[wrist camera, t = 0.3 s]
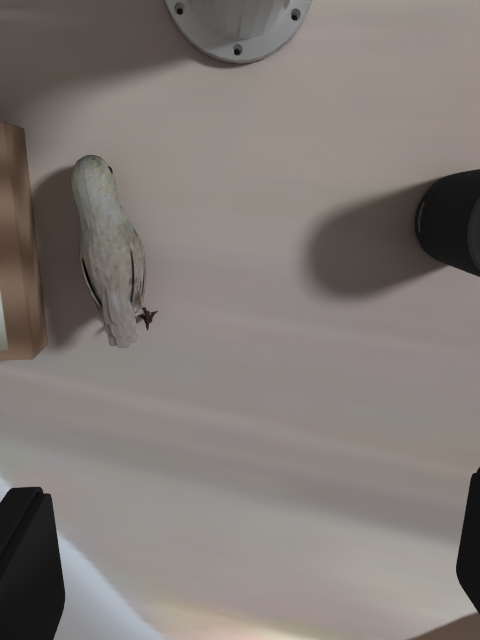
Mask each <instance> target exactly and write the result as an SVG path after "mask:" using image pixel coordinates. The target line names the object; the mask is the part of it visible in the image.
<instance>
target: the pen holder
mask: <svg viewBox="0 0 480 640" xmlns="http://www.w3.org/2000/svg"><path fill="white" fill-rule="evenodd" d="M415 230H416V235H417V238H418V241H419V243H420V245H421V247H422V248H423V249H424V251H425V252H426V253H427V254H429V255H430V256H431V257H433V258H434V259H437V260H439V261H441V262H443V263H446V264H448V265H450V266H453V267H455V268H458V269H461V270H463V271H466V272H468V273H471V274H473V275H476V276H479V277H480V169H478V170H472V171H466V172H460V173H456V174H452V175H449V176H447V177H445V178H443V179H441V180H439V181H438V182H437V183H435V184H434V185H433V186H432V187H431V188H430V189H429V190H428V191H427V192H426V194H425V195H424V197H423V198H422V200H421V202H420V204H419V207H418V209H417V213H416V219H415Z"/></svg>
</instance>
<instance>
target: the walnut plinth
mask: <svg viewBox="0 0 480 640" xmlns="http://www.w3.org/2000/svg"><path fill="white" fill-rule="evenodd" d="M47 345H48V342H47V333H46V324H45V315H44V306H43V297H42V288H41V279H40V270H39V261H38V252H37V243H36V234H35V225H34V216H33V207H32V198H31V189H30V180H29V171H28V162H27V153H26V144H25V136H24V129H23V128H20V127H17V126H14V125H11V124H8V123H5V122H0V360H33V359H34V358H35V357H36V356H37V355H38V354H39V353H40V352H41V351H42V350H43V349H44V348H45V347H46V346H47Z"/></svg>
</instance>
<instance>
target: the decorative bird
mask: <svg viewBox="0 0 480 640" xmlns="http://www.w3.org/2000/svg"><path fill="white" fill-rule="evenodd" d="M71 186H72V193H73V197H74V200H75V202H76V205H77V208H78V212H79V216H80V223H81V239H80V247H79V251H80V263H81V268H82V272H83V275H84V279H85V282H86V284H87V287H88V289H89V292H90V294H91V296H92V298H93V300H94V302H95V304H96V306H97V308H98V310H99V312H100V315H101V317H102V318H104V325H105V330H106V333H107V334H108V339H109V344H110V345H111V346H118V348H126V347H128V346H129V343H134V342H136V341H137V334H136V330H135V329H136V328H137V323H136V319H135V315H136V313H137V312H139V310H140V309H141V308H142V309H143V311H144V313H145V316H143V315H138V316H139V317H141V318H142V319H143V320H144V321H145V323H146V328H147V330H148V328H149V323H151V322H152V318H153V316H154V314H155V313H156V312H158V311H156V312H153V313H152V314H151V315H149V311H148V312H147V310H146V308H145V302H144V292H145V283H146V263H145V255H144V250H143V246H142V243H141V240H140V237H139V236H138V234H137V233H136V231H135V229H134V228H133V226H132V224H131V222H130V221H129V219H128V218H127V216H126V214H125V212H124V211H123V209H122V207H121V206H120V204H119V202H118V198H117V192H116V184H115V179H114V177H113V174H112V169H111V167H109V166H108V164H107V163H106V162H105V161H104V160H103V159H102V158H101V157H99V156H95V155H87V156H84V157H82V158H81V159H79V160H78V161H77V162H76V164H75V165H74V168H73V170H72V174H71Z"/></svg>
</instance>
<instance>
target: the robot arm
mask: <svg viewBox="0 0 480 640" xmlns="http://www.w3.org/2000/svg"><path fill="white" fill-rule="evenodd" d="M165 2H166V5H167V7H168V10H169V13H170V15H171V17H172V19H173V20H174V22H175V24H176V26H177V27H178V29H179V30H180V31H181V33H182V34H183V35H184V36H185V38H186V39H187V40H188V41H189V42H190V43H191V44H192V45H194V46H195V47H196V48H197V49H198V50H200V51H201V52H203V53H205V54H206V55H208V56H210V57H212V58H214V59H217V60H221V61H224V62H228V63H239V64H241V63H250V62H255V61H258V60H261V59H264V58H267V57H269V56H270V55H272V54H274V53H275V52H277V51H279V50H280V49H281V48H282V47H283V46H284V45H285V44H287V43H288V42H289V41H290V40H291V38H292V37H293V36H294V34H295V33H296V32H297V30H298V29H299V28H300V26H301V24H302V23H303V21H304V19H305V17H306V14H307V12H308V9H309V7H310V4H311V2H312V0H165ZM178 10H182V11H183V14H181V15H178V14H177V11H178ZM291 16H295V17H296V21H294V20H292V19H291ZM235 50H238V51H239V52H240V54H239V55H235V54H234V51H235ZM456 573H457V577H458V580H459V583H460V585H461V586H462V588H463V590H464V591H465V593H466V594H467V596H468V597H469V599H470V600H471V602H472V603H473V605H474V606H475V608H476V609H477V611H478V612H479V614H480V467H479V469H478V471H477V473H474V474H473V475H472V477H471V481H470V487H469V493H468V499H467V505H466V511H465V517H464V523H463V529H462V535H461V540H460V546H459V552H458V558H457V564H456ZM64 603H65V589H64V581H63V574H62V567H61V560H60V553H59V547H58V539H57V532H56V525H55V518H54V511H53V504H52V498H51V495H50V494H44V493H43V490H42V488H41V487H22V488H12V489H10V490H9V491H8V492H7V494H6V495H5V497H4V498H3V500H2V501H1V503H0V640H53V639H54V636H55V633H56V630H57V627H58V624H59V622H60V619H61V616H62V613H63V609H64Z"/></svg>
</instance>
